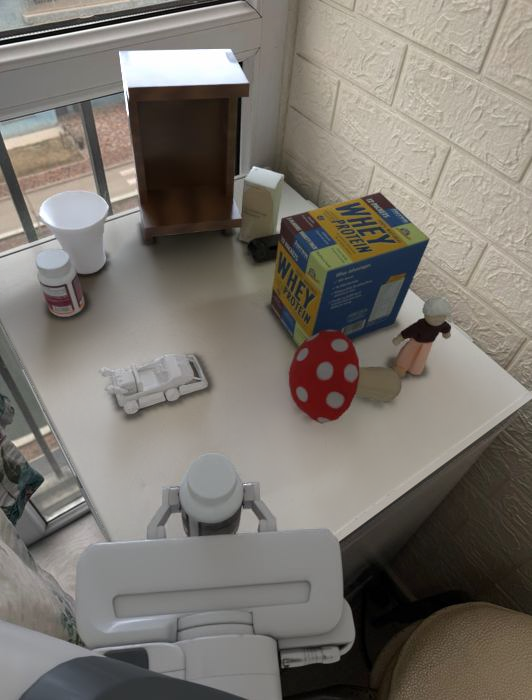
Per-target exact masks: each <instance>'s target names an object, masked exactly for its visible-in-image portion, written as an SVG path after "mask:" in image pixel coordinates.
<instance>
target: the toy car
mask: <svg viewBox="0 0 532 700" xmlns="http://www.w3.org/2000/svg"><path fill="white" fill-rule="evenodd" d="M190 362H191V363H193V365H194V368H195V370H196V372H197V375H198V377H197V376H195V373H194V370H193V368H192V366H191V363H190ZM130 368H131V369H128V370H126V369H125V368H118V369H116V370H113V369H109V368H108V367H102V368H101V369H100V370H99V371H98V373H99V374H100V375H101V376H102V377H104V378H107V377H111V384H108V385H107V386H106V387H104V391H106V393H107V394H108V395H113V394H114V395H115V396H116V400H117V403H118V406H119V407H123V410H124V412H125V414H127V415H133V414H136V413H137V412H138V411H139V410H140V409H144V408H147V407H150V406H154V405H156V404H160V403H162V402H166V400H167V401H169V402H174V401H177V400H178V399H179V398H180V396H184V395H188V394H191V393H193V392H196V391H197V392H198V391H200V390H203V389H206V388H208V385H209V383H208V380H207V379H206V378H207V377H206V376H205V374H204V371H203V369H202V367H201V365H200V362H199V361H198V359H197V357H196V356H195V355H193V354H187V355H182V354H176V353H169V354H166V355H163V356H160V357H157V358H155V359H154V360H153V362H150V363H147V364H144V365H140V366H137V365H136V364H135V363H132V364H130ZM193 380H197V382H193V383H190V382H192V381H193Z"/></svg>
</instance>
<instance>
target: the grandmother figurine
mask: <svg viewBox="0 0 532 700" xmlns="http://www.w3.org/2000/svg"><path fill="white" fill-rule="evenodd" d="M422 314H423V317H422V318H418V319H417V321H415V322H414V323H412V324H410V325H408V326H407V327H406V328H404V329H402V330H401V331H400V332H399V333H398V334H397V335H396V337H394V338H392V340H391V343H392V345H393V346H395V347H398V346H399V345H400V344H401V343H403V342H404V341H405V340H407V341H406V342H405V344H403V345H402V346H401V347H400V349H399V350H398V352H397V355H396V357H395V359H393V360H392V361H391V363H390V369H393V370H394V371H395V372H396V373H397V374H398V375H399V376H400V378H403V377H405V376H406V375H407V372H408V373H409V374H411V375H415V376H419V375H421V374H422V373H423V371H424V369H425V366H426V363H427V361H428V358H429V355H430V352H431V350H432V346H433V344H434V342H435V341H436V339H437V337H438V336H439V334H440V333H441V336H442V338H443V339H445V340H449V339H450V338H451V337H452V334H451V330H452V325H451V324H450V323H449V322H448V321H447V318H449V317H451V316H452V314H453V307H452V304H451V303H450V302H449V301H447V300H446V299H445V298H443V297H441V296H434V297H429V298H428V299H427V300H426V301H424V303H423V307H422Z"/></svg>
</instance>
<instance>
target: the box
mask: <svg viewBox="0 0 532 700" xmlns="http://www.w3.org/2000/svg"><path fill="white" fill-rule="evenodd" d="M284 180H285V175H284V174H282V173H279V172H276V171H272V170H269V169H267V168H262V167H259V166H253V165H252V168H251V169H250V170H249V171H248V173H247V174H246V176H245V177H244V179H243V186H242V187H243V189H242V201H241V202H242V203H241V212H240V214H241V217H242V227H241V228H239V235H238V239H239V240H240V241H242V242H246V243H249V242H250V241H251V240H253V239H255V238H260V237H265V236H270V235H275V234H277V227H278V220H279V213H280V206H281V200H282V195H283V194H282V193H283V187H284Z"/></svg>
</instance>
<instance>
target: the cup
mask: <svg viewBox="0 0 532 700" xmlns="http://www.w3.org/2000/svg"><path fill="white" fill-rule="evenodd" d="M108 204H109V203H108V202H107V201H106V200H105V198H103V197H102V196H101V195H99V194H97V193H94V192H92V191H88V190H74V189H73V190H66V191H62V192H59V193H55V194H53V195H51V196H50V197H48V198H47V199H46V200H44V201H43V202H42V203H41V205H40V206H39V210H38V214H37V215H36V216H35V217H36V220H37V221H38V222H40V223H42V224H43V225H44V226H45V227H46V228H47V229H48V230H49V231H50V232H51V233H52V234H53V236H54V237H55V239H56V240H57V242H58V243H59V245H60V246H61V249H62V250H64V251H66V252H67V253H68V255H69V258H70V261H71V263H72V264H73V265H74V267H75V269H76V272H77V274H80V275H89V274H94V273H96V272H98V271H99V270H101V269H102V268H103V267H104V265H105V264H106V261H107V256H106V252H105V246H104V233H105V224H106V221H107V219H108V216H109V209H110V205H108Z"/></svg>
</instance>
